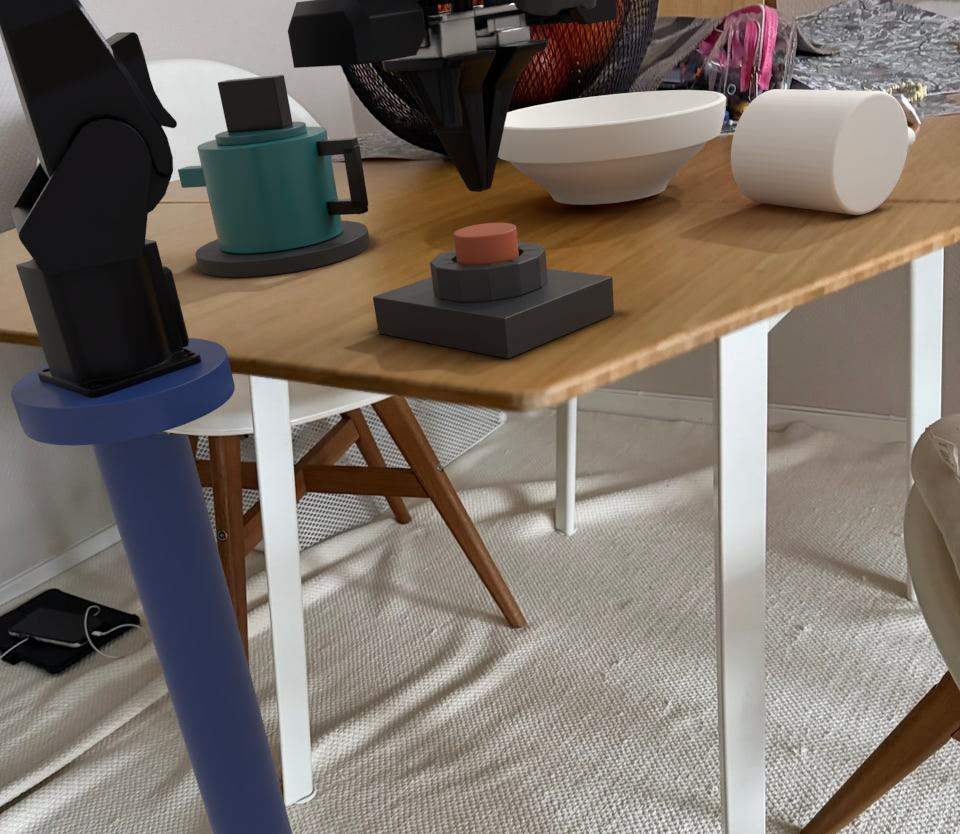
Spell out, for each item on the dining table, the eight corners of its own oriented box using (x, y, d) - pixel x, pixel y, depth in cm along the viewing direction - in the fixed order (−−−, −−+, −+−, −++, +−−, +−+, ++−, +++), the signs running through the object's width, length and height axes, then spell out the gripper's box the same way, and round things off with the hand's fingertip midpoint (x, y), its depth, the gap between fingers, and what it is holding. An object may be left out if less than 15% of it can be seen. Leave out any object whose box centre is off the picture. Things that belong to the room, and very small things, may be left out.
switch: (531, 256, 63) (529, 224, 62) (488, 271, 61) (484, 238, 60) (487, 251, 65) (484, 220, 64) (444, 265, 63) (440, 234, 62)
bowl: (701, 219, 83) (701, 116, 79) (464, 228, 90) (453, 134, 86) (742, 171, 98) (743, 83, 95) (536, 182, 105) (530, 100, 101)
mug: (827, 225, 77) (834, 100, 73) (728, 211, 85) (729, 97, 80) (940, 193, 82) (953, 74, 78) (837, 182, 89) (844, 74, 85)
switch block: (614, 314, 64) (611, 243, 62) (508, 359, 59) (501, 283, 57) (482, 295, 71) (476, 231, 69) (378, 333, 66) (367, 265, 64)
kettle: (164, 255, 87) (123, 95, 81) (231, 227, 95) (199, 78, 89) (341, 251, 81) (311, 77, 75) (397, 221, 89) (375, 61, 83)
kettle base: (263, 284, 80) (260, 268, 80) (166, 268, 89) (162, 253, 89) (405, 241, 88) (403, 225, 88) (302, 230, 97) (299, 215, 97)
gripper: (412, -178, 42) (459, 238, 51) (697, -183, 53) (698, 162, 61) (251, -135, 50) (314, 223, 58) (530, -147, 60) (550, 158, 68)
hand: (479, 190), depth 61 cm, fingers closed
